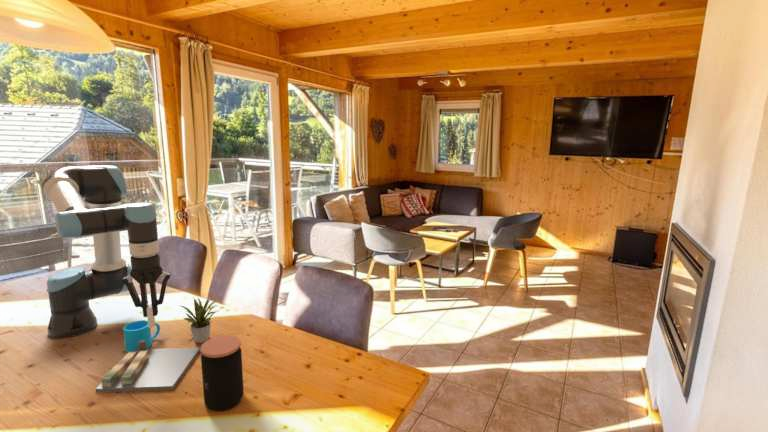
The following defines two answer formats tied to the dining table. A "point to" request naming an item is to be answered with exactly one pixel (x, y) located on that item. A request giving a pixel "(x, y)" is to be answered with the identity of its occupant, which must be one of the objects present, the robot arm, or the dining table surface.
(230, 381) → the coffee jar
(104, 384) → the tongs base
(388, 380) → the dining table surface
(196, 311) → the house plant
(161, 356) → the board
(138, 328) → the mug
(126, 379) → the bar
